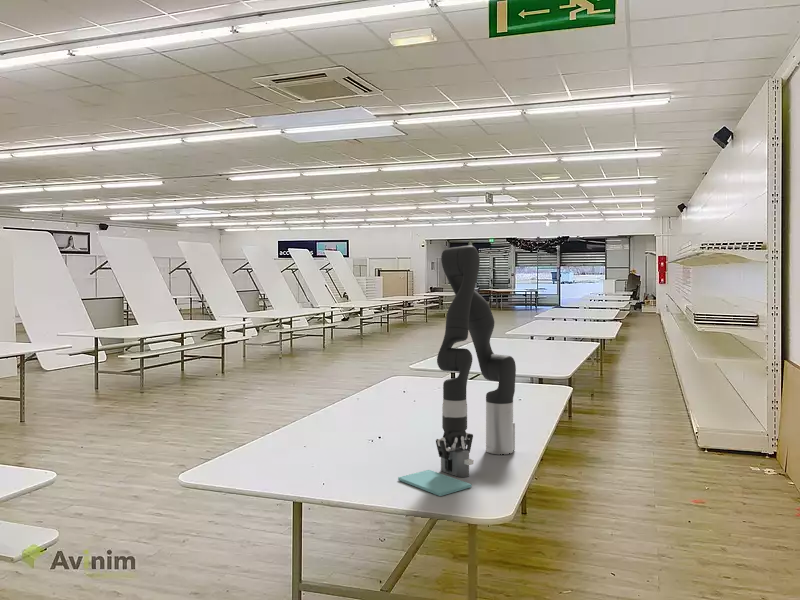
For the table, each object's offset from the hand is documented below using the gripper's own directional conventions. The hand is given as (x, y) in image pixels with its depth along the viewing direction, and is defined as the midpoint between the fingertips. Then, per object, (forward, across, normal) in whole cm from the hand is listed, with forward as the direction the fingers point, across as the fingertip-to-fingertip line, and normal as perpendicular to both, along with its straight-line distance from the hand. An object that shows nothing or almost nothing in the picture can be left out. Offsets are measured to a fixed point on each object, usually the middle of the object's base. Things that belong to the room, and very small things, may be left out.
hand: (454, 469), depth 188 cm
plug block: (+1, 0, 0) cm, 1 cm away
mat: (+1, +12, +4) cm, 13 cm away
